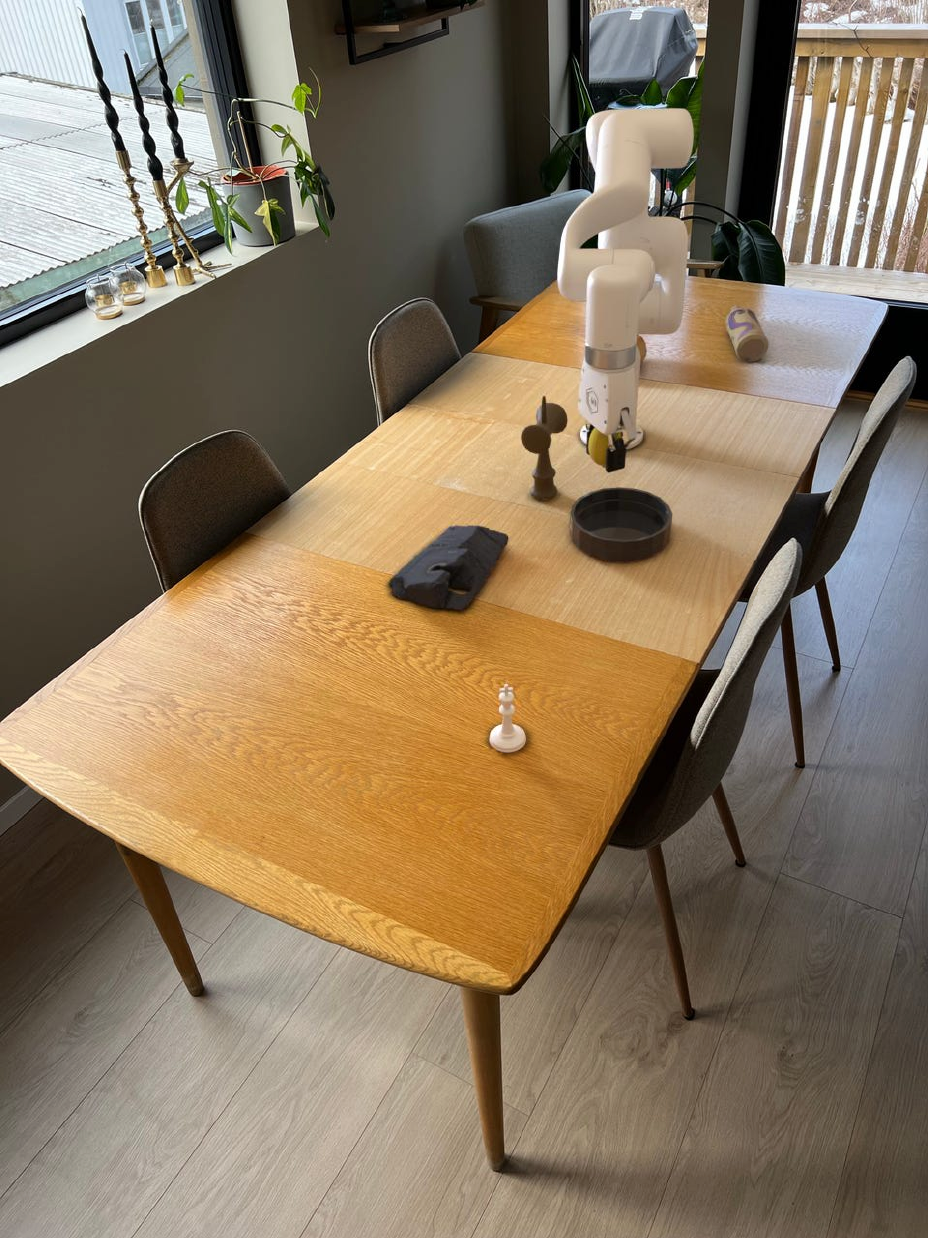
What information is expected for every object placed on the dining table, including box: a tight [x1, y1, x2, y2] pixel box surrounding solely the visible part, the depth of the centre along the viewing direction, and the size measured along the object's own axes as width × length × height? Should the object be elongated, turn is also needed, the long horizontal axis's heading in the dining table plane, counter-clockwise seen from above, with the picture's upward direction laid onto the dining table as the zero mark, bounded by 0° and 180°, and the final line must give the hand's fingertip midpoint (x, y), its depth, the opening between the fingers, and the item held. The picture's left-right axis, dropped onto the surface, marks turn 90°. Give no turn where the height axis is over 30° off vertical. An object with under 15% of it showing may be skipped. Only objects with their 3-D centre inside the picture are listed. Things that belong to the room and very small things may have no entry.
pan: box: [569, 486, 673, 563], centre depth 168 cm, size 17×17×4 cm
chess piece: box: [489, 683, 527, 753], centre depth 129 cm, size 5×5×10 cm
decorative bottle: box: [724, 304, 770, 363], centre depth 229 cm, size 26×8×7 cm, turn 176°
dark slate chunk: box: [388, 524, 509, 611], centre depth 162 cm, size 15×22×5 cm
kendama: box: [520, 395, 569, 501], centre depth 175 cm, size 6×10×20 cm, turn 157°
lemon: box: [588, 427, 621, 469], centre depth 153 cm, size 6×6×8 cm
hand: (605, 459), depth 155 cm, fingers closed on lemon, 5 cm apart
